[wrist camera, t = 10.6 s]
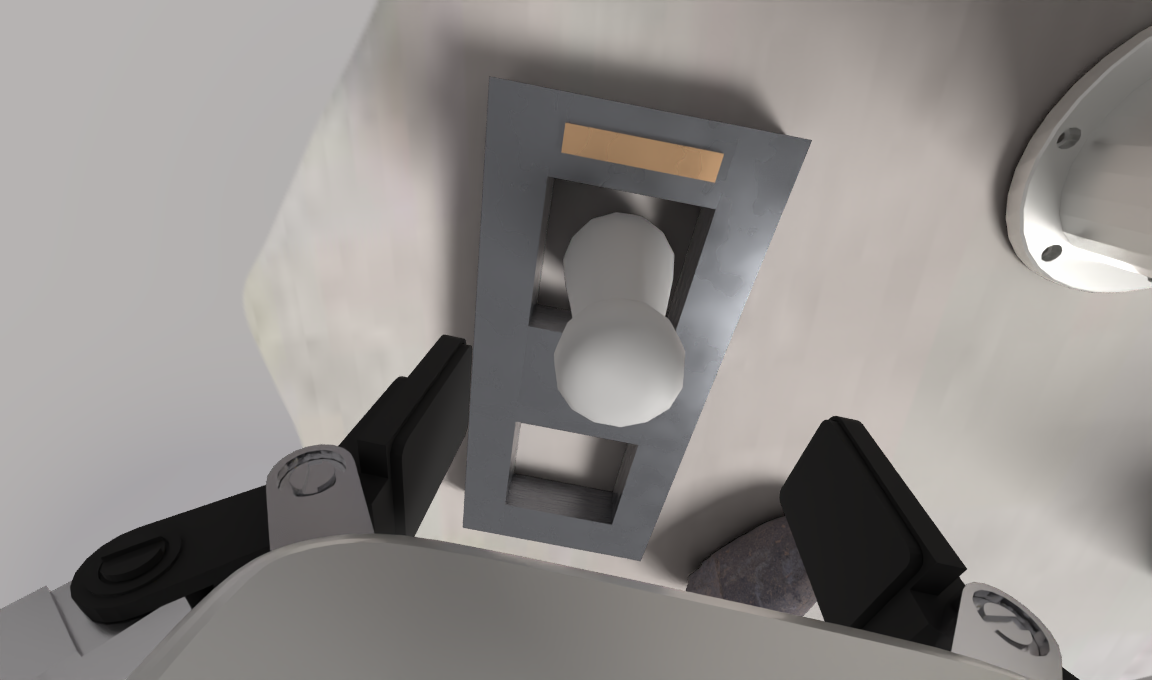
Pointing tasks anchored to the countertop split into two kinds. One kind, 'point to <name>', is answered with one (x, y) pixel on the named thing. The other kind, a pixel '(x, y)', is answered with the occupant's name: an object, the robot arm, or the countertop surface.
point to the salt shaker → (619, 323)
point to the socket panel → (531, 332)
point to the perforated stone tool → (758, 571)
